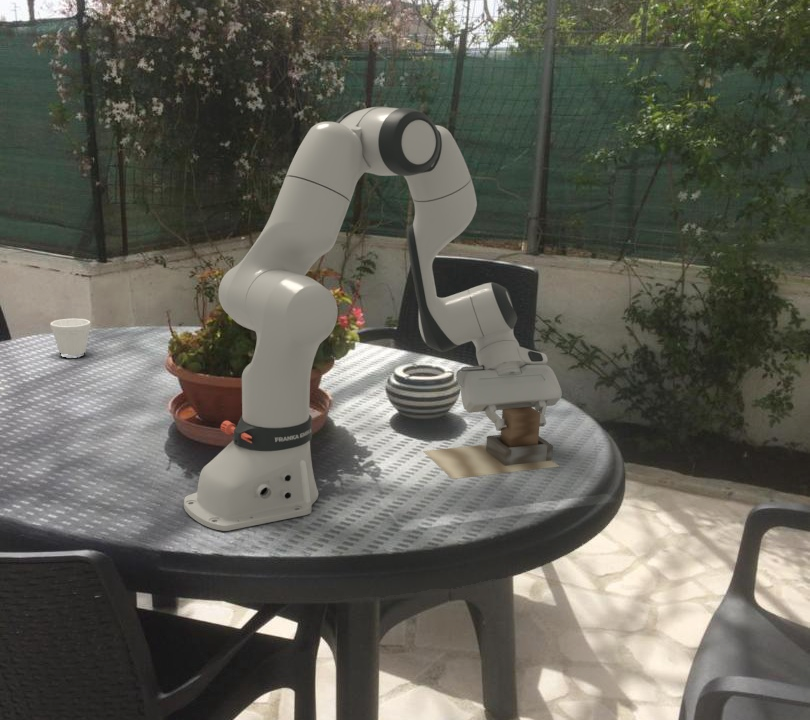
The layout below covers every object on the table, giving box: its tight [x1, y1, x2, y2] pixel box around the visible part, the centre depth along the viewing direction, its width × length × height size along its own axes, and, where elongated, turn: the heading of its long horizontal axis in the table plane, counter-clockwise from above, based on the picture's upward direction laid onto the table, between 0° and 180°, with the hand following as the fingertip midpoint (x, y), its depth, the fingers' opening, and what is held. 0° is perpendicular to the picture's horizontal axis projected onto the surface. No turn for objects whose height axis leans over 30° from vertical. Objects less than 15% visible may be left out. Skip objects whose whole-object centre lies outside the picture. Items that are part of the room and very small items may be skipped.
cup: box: [50, 318, 91, 355], centre depth 222 cm, size 10×10×9 cm
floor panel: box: [422, 434, 560, 480], centre depth 158 cm, size 22×14×4 cm, turn 110°
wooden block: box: [500, 407, 541, 448], centre depth 159 cm, size 6×4×9 cm, turn 110°
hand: (522, 427), depth 158 cm, fingers open, 7 cm apart
